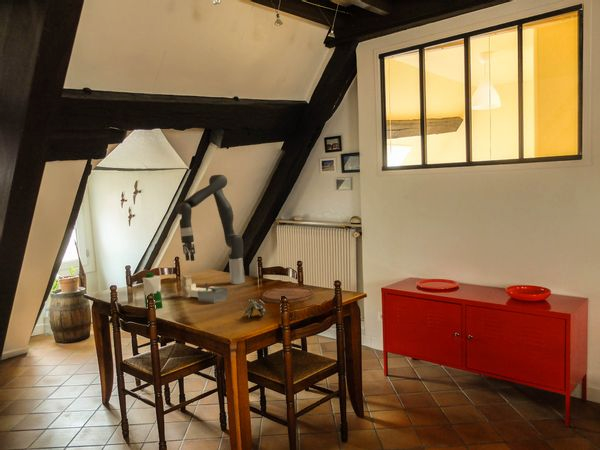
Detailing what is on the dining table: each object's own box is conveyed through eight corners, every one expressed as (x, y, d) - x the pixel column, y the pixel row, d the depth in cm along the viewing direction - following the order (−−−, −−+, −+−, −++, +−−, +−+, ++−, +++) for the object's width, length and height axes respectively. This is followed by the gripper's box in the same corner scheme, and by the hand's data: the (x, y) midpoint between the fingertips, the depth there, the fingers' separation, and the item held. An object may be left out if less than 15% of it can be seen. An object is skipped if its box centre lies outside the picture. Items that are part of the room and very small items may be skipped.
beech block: (182, 296, 306) (180, 276, 305) (187, 294, 310) (185, 274, 309) (187, 297, 304) (185, 276, 302) (192, 295, 308) (191, 275, 306)
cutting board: (304, 305, 273) (304, 300, 272) (252, 302, 284) (252, 298, 284) (321, 291, 303) (321, 287, 302) (274, 289, 314) (273, 285, 313)
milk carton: (157, 304, 290) (154, 271, 287) (164, 307, 283) (161, 273, 281) (143, 308, 284) (140, 274, 282) (150, 311, 277) (147, 276, 275)
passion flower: (262, 326, 256) (271, 310, 250) (244, 326, 250) (252, 310, 244) (255, 310, 264) (263, 294, 258) (237, 310, 258) (245, 294, 252)
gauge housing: (198, 301, 293) (197, 290, 293) (212, 296, 303) (211, 286, 303) (214, 303, 286) (213, 292, 285) (228, 298, 296) (227, 288, 295)
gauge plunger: (188, 296, 301) (187, 282, 300) (196, 293, 307) (195, 280, 306) (204, 298, 294) (203, 284, 293) (212, 295, 299) (211, 282, 298)
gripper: (196, 234, 303) (200, 260, 304) (188, 234, 315) (191, 259, 316) (185, 235, 299) (188, 262, 299) (177, 235, 311) (180, 261, 311)
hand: (190, 260), depth 307 cm, fingers open, 8 cm apart
